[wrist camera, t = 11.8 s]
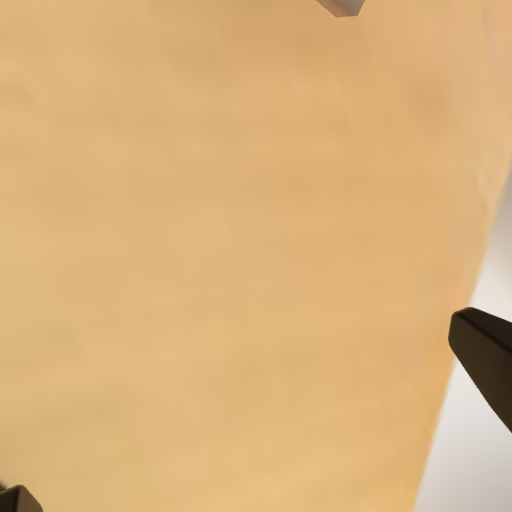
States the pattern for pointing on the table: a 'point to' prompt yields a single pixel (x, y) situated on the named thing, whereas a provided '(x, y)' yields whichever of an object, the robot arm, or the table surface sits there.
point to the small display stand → (342, 7)
